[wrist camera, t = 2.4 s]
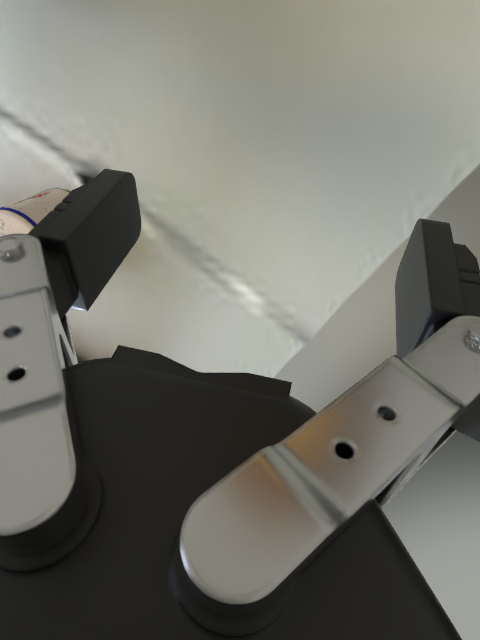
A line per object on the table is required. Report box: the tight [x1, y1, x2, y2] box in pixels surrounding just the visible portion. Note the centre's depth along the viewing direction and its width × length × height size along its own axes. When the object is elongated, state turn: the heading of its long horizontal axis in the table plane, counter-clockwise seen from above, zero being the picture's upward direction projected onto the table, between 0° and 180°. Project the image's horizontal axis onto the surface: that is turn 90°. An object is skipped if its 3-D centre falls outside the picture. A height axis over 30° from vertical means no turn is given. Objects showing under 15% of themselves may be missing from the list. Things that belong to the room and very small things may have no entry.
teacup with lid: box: [0, 189, 69, 237], centre depth 51 cm, size 12×9×12 cm
